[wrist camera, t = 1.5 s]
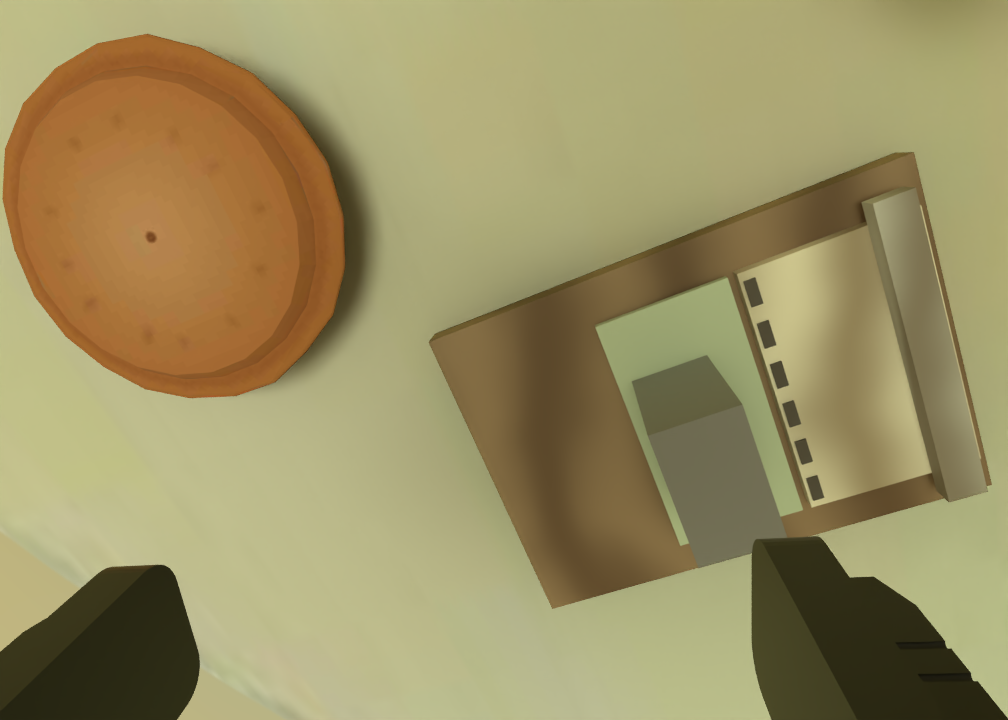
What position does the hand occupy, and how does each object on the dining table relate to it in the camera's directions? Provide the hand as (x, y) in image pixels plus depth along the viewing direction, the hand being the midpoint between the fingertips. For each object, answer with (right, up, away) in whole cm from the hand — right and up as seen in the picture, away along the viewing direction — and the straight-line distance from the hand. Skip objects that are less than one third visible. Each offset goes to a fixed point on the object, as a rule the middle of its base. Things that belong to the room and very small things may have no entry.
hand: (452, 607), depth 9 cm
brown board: (+10, +1, +22) cm, 25 cm away
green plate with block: (+10, +1, +21) cm, 23 cm away
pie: (-13, +10, +22) cm, 28 cm away
